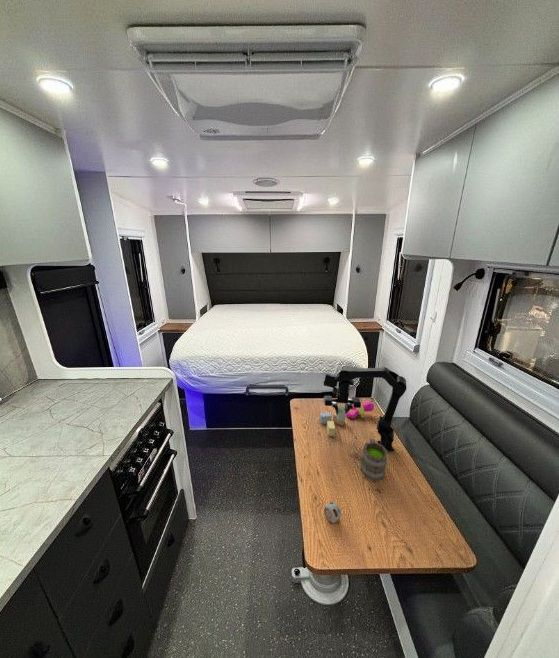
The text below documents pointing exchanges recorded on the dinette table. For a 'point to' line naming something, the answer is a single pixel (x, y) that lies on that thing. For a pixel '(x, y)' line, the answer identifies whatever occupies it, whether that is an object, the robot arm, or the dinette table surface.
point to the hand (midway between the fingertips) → (340, 414)
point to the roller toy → (332, 512)
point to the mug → (374, 461)
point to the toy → (361, 410)
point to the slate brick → (325, 417)
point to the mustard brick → (330, 428)
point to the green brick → (341, 413)
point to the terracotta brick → (337, 420)
